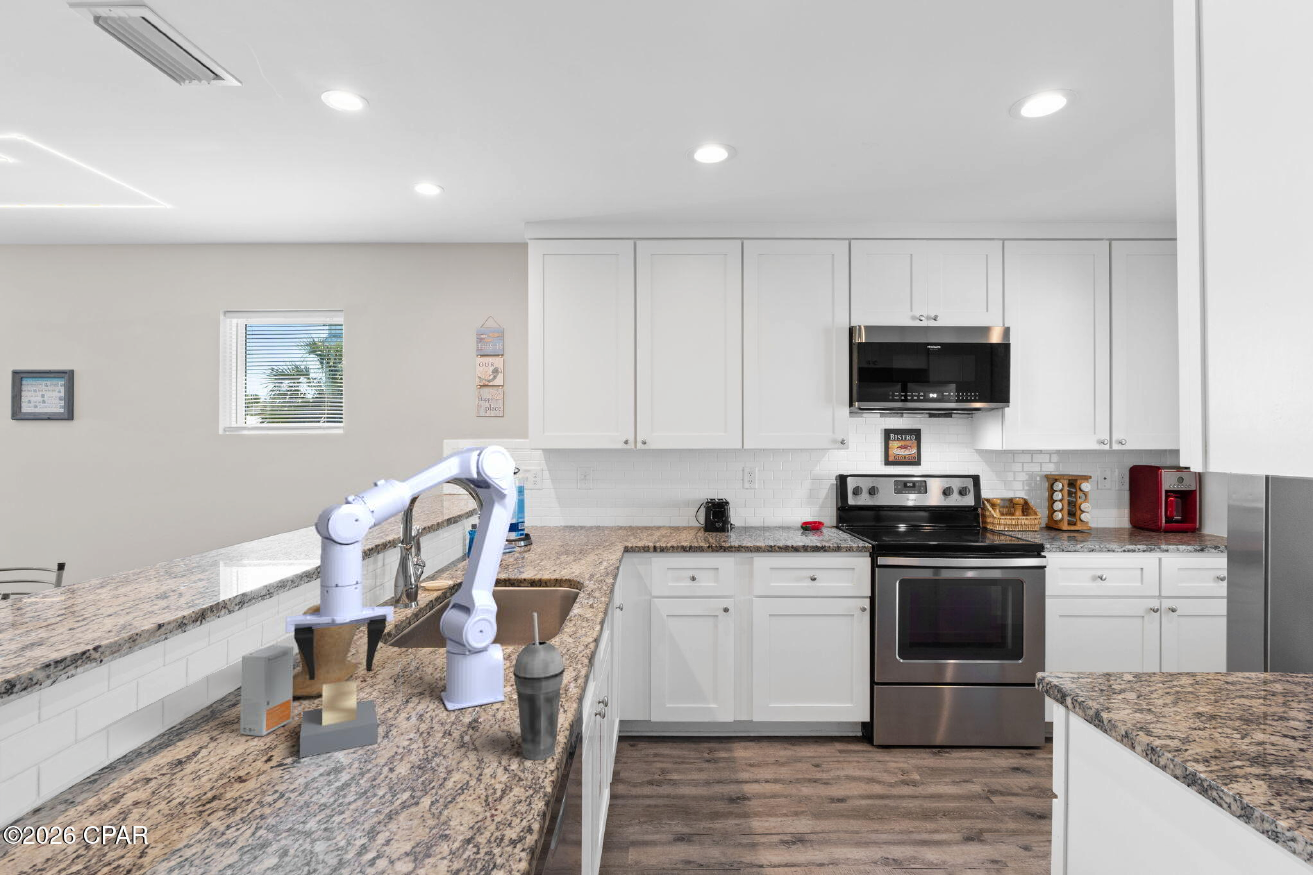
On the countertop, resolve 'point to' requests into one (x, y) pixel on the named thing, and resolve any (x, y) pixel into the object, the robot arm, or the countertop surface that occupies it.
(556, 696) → the beverage cup
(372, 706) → the base block
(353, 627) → the stone cup
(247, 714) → the skincare box
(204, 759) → the countertop surface
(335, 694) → the maple cube
